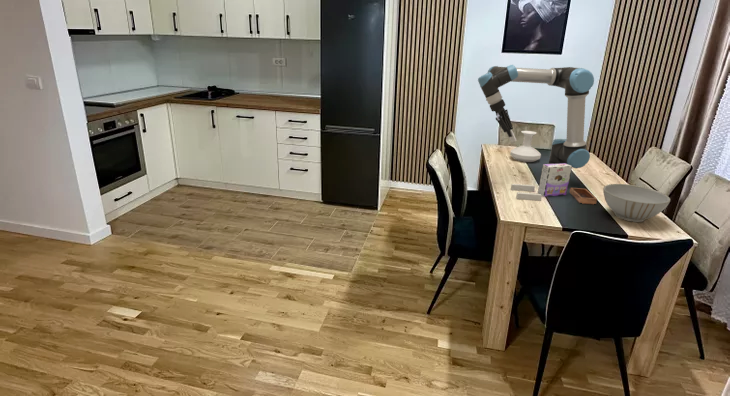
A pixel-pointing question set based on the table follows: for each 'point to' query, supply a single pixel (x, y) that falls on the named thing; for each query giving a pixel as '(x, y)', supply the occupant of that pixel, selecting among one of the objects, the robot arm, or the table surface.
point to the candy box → (554, 179)
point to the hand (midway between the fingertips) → (513, 141)
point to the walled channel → (526, 195)
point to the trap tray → (583, 196)
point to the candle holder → (526, 149)
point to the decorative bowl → (634, 201)
